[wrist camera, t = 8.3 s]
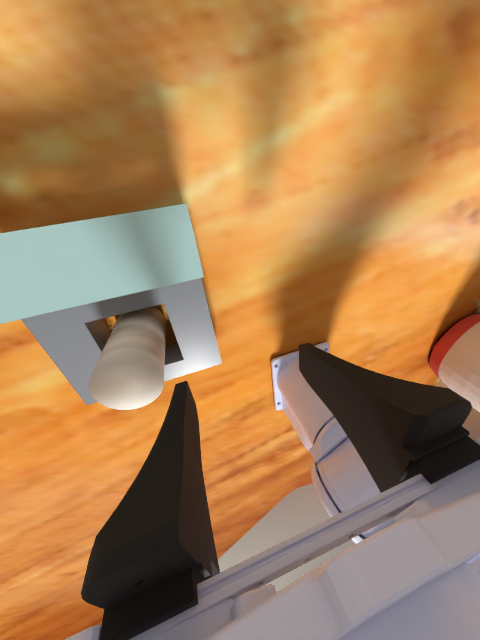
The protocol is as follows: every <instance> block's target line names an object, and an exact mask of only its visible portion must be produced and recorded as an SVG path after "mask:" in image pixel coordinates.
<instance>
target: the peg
mask: <svg viewBox="0 0 480 640" xmlns="http://www.w3.org/2000/svg"><path fill="white" fill-rule="evenodd" d="M165 336H166V320H165V317H164V315H163V314H162V312H161V311H160V310H159V309H157V308H156V307H154V306H152V307H148V308H144V309H140V310H135V311H131V312H127V313H123V314H120V315H119V317H118V320H117V322H116V324H115V326H114V328H113V330H112V332H111V334H110V336H109V338H108V341H107V343H106V345H105V347H104V349H103V351H102V353H101V355H100V357H99V359H98V362H97V364H96V366H95V368H94V370H93V372H92V374H91V376H90V379H89V383H88V388H89V392H90V394H91V396H92V397H93V398H94V399H95V400H96V401H97V402H98V403H100V404H102V405H104V406H106V407H109V408H113V409H119V410H130V409H136V408H140V407H143V406H145V405H147V404H149V403H151V402H152V401H154V400H155V399H156V398H157V397H158V396H159V395H160V393H161V392H162V390H163V386H164V365H165Z"/></svg>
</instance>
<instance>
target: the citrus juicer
mask: <svg viewBox="0 0 480 640" xmlns="http://www.w3.org/2000/svg"><path fill="white" fill-rule="evenodd" d="M432 350H433V351H432V353H431V356H430V360H429V365H430V368H431V369H432V370H433V372H434V373H435V374H436V376H437V377H438V378H439V379H440V380H441V381H443V382H444V383H445V384H446V385H447V386H448V387H449V388H450V389H451V390H453V391H454V392H456V393H457V394H459V395H460V396H462V397H463V398H465V399H467V400H468V401H470V402H471V405H472V407H474V408H475V409H476V410H478V411H479V412H480V314H475V315H471V316H468V317H466V318H464V319H462V320H461V321H459V322H458V323H456V324H455V325H454V326H453V327H451V328H450V329H449V330H448V331H447V332H446V333H445V334H444V335H443V336H442V338H441V339H440V340H439V341H438V342H437V343H435V345H434V346H433V348H432Z"/></svg>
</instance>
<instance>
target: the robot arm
mask: <svg viewBox="0 0 480 640" xmlns="http://www.w3.org/2000/svg"><path fill="white" fill-rule="evenodd" d="M271 369H272V380H273V391H274V403H275V409H276V410H281V409H283V410H284V411H285V413H286V415H287V417H288V419H289V420H290V422H291V424H292V426H293V427H294V429H295V431H296V433H297V434H298V436H299V438H300V440H301V441H302V443H303V445H304V446H305V447H306V449H307V450H308V451H310V453H311V455H312V457H313V458H314V461H313V462H312V464H311V474H312V482H313V485H314V488H315V491H316V493H317V495H318V497H319V499H320V501H321V503H322V505H323V506H324V508H325V510H326V511H327V513H328V514H329V516H330V517H331V518H330V519H328V520H326V521H324V522H322V523H320V524H318V525H316V526H314V527H312V528H310V529H308V530H306V531H303V532H301V533H300V534H297V535H295V536H293V537H292V538H289V539H287V540H285V541H283V542H281V543H279V544H277V545H275V546H273V547H272V548H269V549H267V550H265V551H263V552H261V553H259V554H257V555H255V556H253V557H251V558H249V559H247V560H245V561H243V562H241V563H239V564H237V565H235V566H233V567H231V568H229V569H227V570H225V571H223V572H221V573H220V570H219V565H218V560H217V554H216V549H215V543H214V538H213V532H212V527H211V521H210V515H209V509H208V503H207V497H206V491H205V485H204V478H203V472H202V463H201V449H200V434H199V420H198V415H197V409H196V404H195V401H194V398H193V396H192V393H191V390H190V388H189V385H188V382H187V381H184V382H181V383H178V384H176V385H175V388H174V392H173V396H172V399H171V403H170V406H169V409H168V412H167V414H166V417H165V420H164V422H163V425H162V427H161V430H160V432H159V435H158V437H157V439H156V441H155V443H154V445H153V448H152V450H151V452H150V454H149V455H148V457H147V459H146V461H145V463H144V465H143V466H142V468H141V470H140V472H139V474H138V475H137V477H136V479H135V480H134V482H133V483H132V485H131V487H130V488H129V490H128V491H127V493H126V494H125V496H124V498H123V499H122V501H121V502H120V504H119V505H118V507H117V508H116V509H115V511H114V512H113V514H112V515H111V516H110V518H109V519H108V521H107V522H106V523H105V525H104V526H103V528H102V529H101V530H100V532H99V533H98V535H97V536H96V538H95V542H94V545H93V548H92V551H91V554H90V558H89V561H88V565H87V570H86V574H85V578H84V583H83V587H82V591H81V596H82V599H83V600H84V601H86V602H87V603H89V604H92V605H95V606H97V607H100V608H103V609H104V615H103V621H102V625H96V626H92V627H90V628H87V629H85V630H83V631H81V632H79V633H77V634H75V635H73V636H71V637H69V638H67V639H65V640H480V437H479V438H478V439H477V440H475V441H473V440H472V439H471V438H470V437H468V435H469V431H467V430H466V429H465V428H463V427H462V424H463V423H464V421H465V420H466V418H467V417H468V415H469V413H470V411H471V408H472V405H471V402H470V401H468V400H467V399H465V398H463V397H462V396H460V395H459V394H457V393H456V392H454V391H453V390H451V389H448V388H442V387H436V386H430V385H424V384H419V383H414V382H410V381H405V380H401V379H397V378H393V377H390V376H386V375H383V374H379V373H376V372H373V371H370V370H367V369H364V368H362V367H359V366H357V365H354V364H352V363H349V362H347V361H345V360H342V359H340V358H338V357H336V356H334V355H332V354H329V344H328V343H327V342H324V343H321V344H318V345H314V346H313V345H311V344H309V343H305V344H302V345H299V351H296V352H293V353H289V354H286V355H283V356H280V357H277V358H274V359H272V361H271ZM349 540H353V542H354V543H355V545H353V546H351V547H349V548H347V549H346V550H344V551H342V552H341V553H339V554H338V555H336V556H334V557H332V558H331V559H329V560H328V561H326V562H324V563H323V564H321V565H320V566H318V567H316V568H315V569H313V570H312V571H310V572H308V573H307V574H305V575H304V576H302V577H301V578H299V579H298V580H296V581H294V582H293V583H291V584H290V585H288V586H287V587H285V588H283V589H282V590H280V591H279V592H277V593H276V591H275V587H274V585H272V584H269V585H266V586H263V585H265V584H267V583H269V582H271V581H273V580H275V579H277V578H278V577H280V576H282V575H284V574H286V573H288V572H290V571H292V570H294V569H296V568H297V567H299V566H301V565H303V564H305V563H307V562H309V561H311V560H312V559H314V558H316V557H318V556H320V555H322V554H324V553H326V552H328V551H330V550H332V549H333V548H335V547H337V546H339V545H341V544H343V543H345V542H347V541H349ZM261 586H263V587H261Z"/></svg>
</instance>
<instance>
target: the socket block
mask: <svg viewBox="0 0 480 640" xmlns="http://www.w3.org/2000/svg"><path fill="white" fill-rule="evenodd" d="M203 277H204V275H203V271H202V266H201V262H200V258H199V253H198V249H197V245H196V241H195V236H194V232H193V228H192V224H191V219H190V215H189V211H188V207H187V204H180V205H174V206H168V207H162V208H155V209H149V210H143V211H137V212H130V213H124V214H118V215H112V216H106V217H99V218H93V219H87V220H81V221H74V222H68V223H62V224H56V225H49V226H43V227H37V228H31V229H24V230H18V231H12V232H6V233H0V324H1V323H6V322H10V321H14V320H19V319H21V320H22V321H23V322H24V324H25V325H26V326H27V328H28V329H29V330H30V331H31V333H32V334H33V335H34V337H35V338H36V339H37V341H38V342H39V343H40V345H41V346H42V347H43V348H44V350H45V351H46V352H47V354H48V355H49V356H50V358H51V359H52V360H53V361H54V363H55V364H56V365H57V367H58V368H59V369H60V371H61V372H62V373H63V374H64V376H65V377H66V378H67V380H68V381H69V382H70V384H71V385H72V386H73V388H74V389H75V390H76V391H77V393H78V394H79V395H80V397H81V398H82V399H83V401H84V402H85V403H86V404H87V405H89V404H92V403H96V402H97V401H96V400H95V399H94V398H93V397H92V396H91V394H90V392H89V388H88V383H89V379H90V376H91V374H92V372H93V370H94V368H95V366H96V364H97V362H98V359H99V357H100V355H101V353H102V351H103V349H104V347H105V345H106V343H107V341H108V338H109V336H110V334H111V332H110V330H109V329H108V327H107V325H106V323H105V321H104V319H103V318H107V317H111V316H115V315H119V314H123V313H127V312H131V311H135V310H140V309H144V308H148V307H152V306H156V305H160V304H164V305H165V308H166V311H167V314H168V317H169V319H170V322H171V325H172V328H173V330H174V333H175V336H176V339H177V342H178V343H176V344H173V345H169V346H166V347H165V365H164V381H167V380H170V379H173V378H176V377H180V376H183V375H186V374H189V373H193V372H196V371H199V370H202V369H206V368H209V367H212V366H215V365H219V364H222V361H221V357H220V353H219V349H218V345H217V341H216V337H215V333H214V328H213V324H212V320H211V316H210V312H209V308H208V304H207V300H206V295H205V291H204V287H203V283H202V279H201V278H203Z"/></svg>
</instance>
